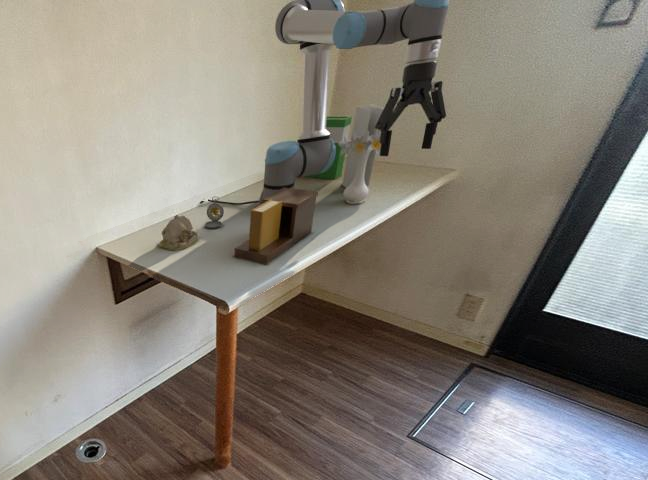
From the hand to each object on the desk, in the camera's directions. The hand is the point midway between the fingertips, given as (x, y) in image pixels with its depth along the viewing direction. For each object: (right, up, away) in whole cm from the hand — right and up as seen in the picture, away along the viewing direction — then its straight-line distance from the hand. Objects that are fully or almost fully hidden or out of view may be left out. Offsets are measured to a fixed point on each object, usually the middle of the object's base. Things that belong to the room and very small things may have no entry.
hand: (405, 152), depth 121 cm
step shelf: (-32, -20, +21) cm, 43 cm away
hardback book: (+7, +31, +78) cm, 84 cm away
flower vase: (+7, +4, +46) cm, 46 cm away
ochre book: (-37, -22, +15) cm, 46 cm away
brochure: (+14, +15, +58) cm, 62 cm away
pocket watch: (-50, -7, +40) cm, 64 cm away
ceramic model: (-65, -17, +29) cm, 73 cm away
